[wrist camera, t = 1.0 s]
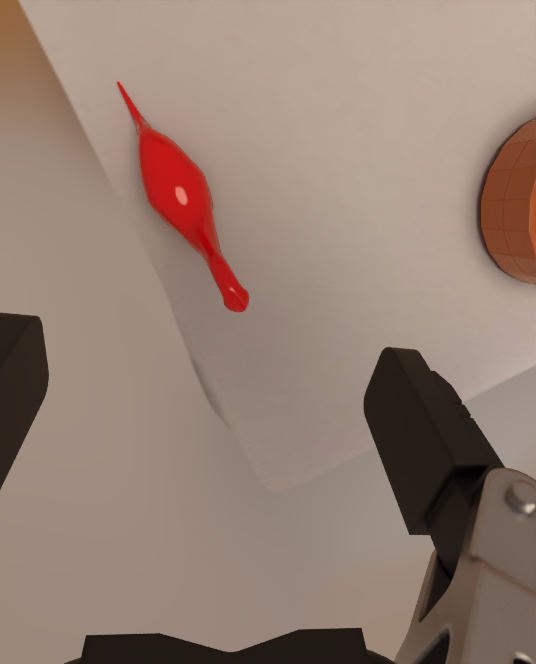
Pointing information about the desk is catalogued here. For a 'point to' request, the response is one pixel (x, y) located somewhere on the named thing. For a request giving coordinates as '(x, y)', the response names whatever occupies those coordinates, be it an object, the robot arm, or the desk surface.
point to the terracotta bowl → (513, 206)
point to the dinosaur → (184, 202)
